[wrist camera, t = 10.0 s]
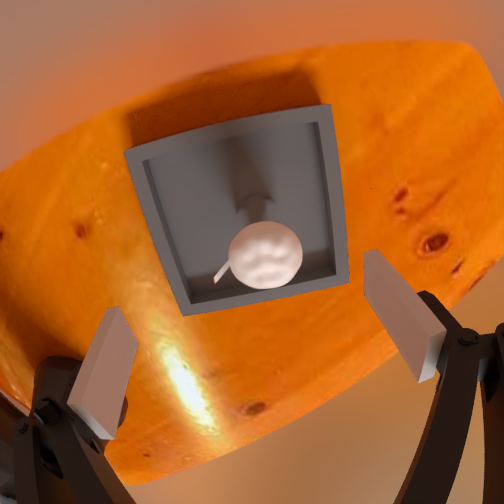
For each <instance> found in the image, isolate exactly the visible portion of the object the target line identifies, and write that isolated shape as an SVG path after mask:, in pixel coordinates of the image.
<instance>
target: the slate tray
mask: <svg viewBox="0 0 504 504" xmlns="http://www.w3.org/2000/svg"><path fill="white" fill-rule="evenodd" d="M124 154H125V157H126V160H127V164H128V167H129V170H130V174H131V177H132V180H133V183H134V186H135V190H136V193H137V196H138V199H139V202H140V205H141V208H142V211H143V214H144V217H145V219H146V222H147V225H148V228H149V231H150V234H151V236H152V239H153V242H154V245H155V247H156V250H157V253H158V256H159V258H160V261H161V263H162V266H163V269H164V271H165V274H166V276H167V279H168V281H169V284H170V286H171V289H172V291H173V294H174V296H175V299H176V301H177V304H178V306H179V308H180V311H181V313H182V315H183V316H189V315H195V314H201V313H206V312H212V311H217V310H223V309H228V308H234V307H239V306H244V305H249V304H254V303H259V302H264V301H269V300H274V299H279V298H284V297H289V296H293V295H298V294H303V293H307V292H312V291H316V290H321V289H325V288H329V287H334V286H338V285H342V284H347V283H349V264H348V247H347V233H346V221H345V209H344V199H343V190H342V181H341V172H340V164H339V156H338V149H337V142H336V135H335V129H334V122H333V116H332V110H331V104H317V105H309V106H302V107H296V108H289V109H283V110H277V111H272V112H266V113H261V114H256V115H251V116H246V117H241V118H236V119H232V120H227V121H223V122H218V123H214V124H210V125H206V126H202V127H198V128H194V129H190V130H187V131H183V132H179V133H176V134H172V135H169V136H165V137H162V138H159V139H155V140H152V141H149V142H146V143H143V144H140V145H136V146H133V147H131V148H129V149H127V150H125V151H124ZM256 194H262V195H264V196H266V197H268V198H270V199H272V200H273V202H274V204H275V205H276V207H277V208H278V210H279V211H280V213H281V215H282V216H283V218H284V219H285V221H286V222H287V223H288V225H289V226H290V227H291V229H292V230H293V231H294V233H295V234H296V236H297V237H298V239H299V241H300V243H301V246H302V254H303V255H302V263H301V266H300V268H299V269H298V271H297V272H296V274H295V275H294V277H293V278H292V279H291V280H290V281H289V282H288V283H286V284H285V285H283V286H280V287H276V288H269V289H257V288H253V287H250V286H248V285H246V284H244V283H242V282H241V281H239V280H238V279H237V278H236V277H235V276H234V274H233V272H232V270H231V268H230V266H229V268H228V269H227V270H226V271H225V273H224V274H223V275H222V276H221V278H220V279H219V280H218V282H217V283H216V284H214V280H213V277H214V276H215V275H216V274H217V272H218V271H219V270H220V269H221V268H222V266H223V265H224V264H225V263H226V261H227V260H228V251H229V247H230V243H231V240H232V236H233V232H234V229H235V226H236V221H237V215H238V210H239V205H240V203H241V202H242V201H243V200H244V199H245V198H246V197H248V196H249V195H256Z"/></svg>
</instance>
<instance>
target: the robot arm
mask: <svg viewBox="0 0 504 504" xmlns="http://www.w3.org/2000/svg"><path fill="white" fill-rule="evenodd" d="M364 296H365V297H366V299H367V300H368V302H369V304H370V305H371V307H372V308H373V310H374V311H375V313H376V314H377V316H378V318H379V319H380V321H381V322H382V324H383V325H384V327H385V329H386V330H387V332H388V333H389V335H390V337H391V338H392V340H393V342H394V343H395V345H396V346H397V348H398V350H399V351H400V353H401V355H402V356H403V358H404V360H405V361H406V363H407V365H408V366H409V368H410V370H411V372H412V373H413V375H414V377H415V378H416V380H417V382H418V383H420V382H422V381H425V380H427V379H429V378H432V377H433V376H434V373H435V370H436V368H437V370H438V371H439V373H440V377H439V380H438V383H437V385H436V392H435V396H434V399H433V403H432V406H431V409H430V413H429V416H428V420H427V422H426V425H425V428H424V431H423V434H422V437H421V440H420V443H419V445H418V448H417V451H416V453H415V456H414V459H413V461H412V463H411V466H410V468H409V471H408V473H407V475H406V478H405V480H404V482H403V484H402V487H401V489H400V491H399V493H398V495H397V497H396V499H395V501H394V503H393V504H446V502H447V499H448V496H449V493H450V491H451V488H452V485H453V482H454V480H455V476H456V473H457V470H458V467H459V463H460V460H461V457H462V453H463V450H464V446H465V442H466V438H467V434H468V429H469V425H470V420H471V416H472V410H473V405H474V399H475V393H476V387H477V382H479V381H480V388H481V397H482V407H483V420H484V444H485V467H484V491H483V502H482V504H504V323H501V324H499V325H498V326H497V328H496V330H495V333H491V334H484V335H479V334H478V333H477V332H476V331H474V330H472V329H469V328H462V326H461V325H460V324H459V323H458V322H457V321H456V319H455V318H454V317H453V316H452V315H451V314H450V312H449V311H448V310H447V309H445V307H444V306H443V304H442V303H440V301H439V300H438V299H437V298H436V297H435V296H434V295H433V294H431V293H429V292H427V291H425V290H424V291H421V292H418V293H416V292H415V291H414V290H413V289H412V288H411V286H410V285H409V284H408V283H407V282H406V281H405V280H404V279H403V277H402V276H401V275H400V274H399V273H398V272H397V271H396V270H395V268H394V267H393V266H392V265H391V264H390V263H389V262H388V261H387V260H386V259H385V258H384V256H383V255H382V254H381V253H380V252H379V251H378V250H377V249H375V250H371V251H367V252H364ZM138 344H139V343H138V341H137V339H136V338H135V336H134V334H133V332H132V330H131V329H130V327H129V325H128V323H127V321H126V319H125V317H124V315H123V313H122V311H121V310H120V308H119V306H117V307H111V308H107V310H106V312H105V314H104V316H103V318H102V320H101V322H100V325H99V327H98V329H97V331H96V333H95V336H94V338H93V340H92V342H91V345H90V347H89V349H88V352H87V354H86V356H85V359H84V361H83V363H82V362H80V361H77V360H74V359H70V358H66V357H49V358H46V359H44V360H43V361H42V362H41V363H40V365H39V367H38V369H37V371H36V373H35V376H34V389H33V396H32V406H31V411H30V414H29V416H28V417H27V416H26V415H25V414H24V413H23V412H21V411H20V410H19V409H18V408H17V407H16V406H15V405H14V404H12V403H11V402H10V401H9V400H8V399H7V398H6V397H5V396H4V395H3V394H2V393H1V392H0V504H136V503H135V501H134V500H133V498H132V497H131V496H130V494H129V493H128V492H127V490H126V489H125V487H124V486H123V484H122V483H121V481H120V480H119V478H118V477H117V475H116V474H115V472H114V471H113V469H112V468H111V466H110V464H109V463H108V461H107V460H106V458H105V456H104V451H105V447H106V445H107V444H108V442H109V441H110V440H115V436H116V431H117V428H118V427H120V426H121V424H122V423H123V422H124V419H125V416H126V412H127V408H128V402H127V399H126V397H125V392H126V388H127V385H128V381H129V377H130V373H131V369H132V365H133V362H134V358H135V354H136V351H137V347H138Z"/></svg>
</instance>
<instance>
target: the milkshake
mask: <svg viewBox="0 0 504 504" xmlns="http://www.w3.org/2000/svg"><path fill="white" fill-rule="evenodd" d="M302 255H303V254H302V246H301V243H300V241H299V239H298V237H297V236H296V234H295V233H294V231H293V230H292V229H291V227H290V226H289V225H288V223H287V222H286V221H285V219H284V218H283V216H282V215H281V213H280V211H279V210H278V208H277V207H276V205H275V204H274V202H273V200H272V199H270V198H268V197H266V196H264V195H262V194H256V195H249V196H248V197H246V198H245V199H244V200H243V201H242V202H241V203H240V205H239V210H238V215H237V221H236V226H235V229H234V232H233V236H232V240H231V243H230V247H229V251H228V260H227V261H226V263H225V264H224V265H223V266H222V268H221V269H220V270H219V271H218V272H217V274H216V275H215V276H214V277H213V280H214V284H216V283H217V282H218V280H219V279H220V278H221V276H222V275H223V274H224V273H225V271H226V270H227V269H228V268H229V266H230V268H231V270H232V272H233V274H234V276H235V277H236V278H237V279H238V280H239V281H241V282H242V283H244V284H246V285H248V286H250V287H253V288H257V289H269V288H276V287H280V286H283V285H285V284H286V283H288V282H289V281H290V280H291V279H292V278H293V277H294V275H295V274H296V272H297V271H298V269H299V268H300V266H301V263H302Z"/></svg>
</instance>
